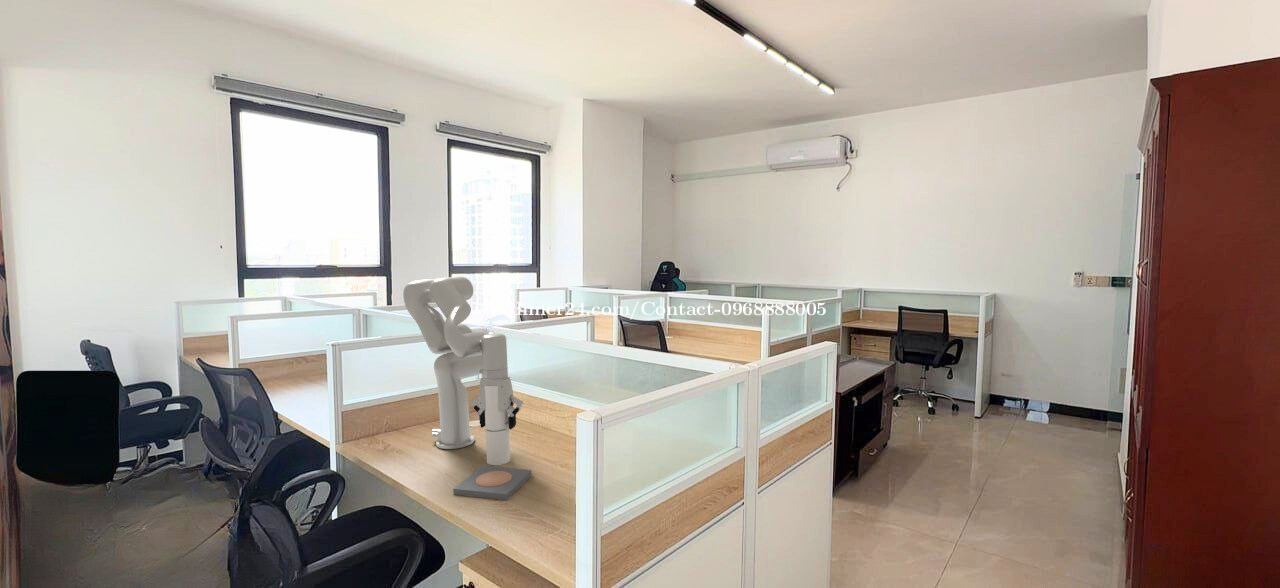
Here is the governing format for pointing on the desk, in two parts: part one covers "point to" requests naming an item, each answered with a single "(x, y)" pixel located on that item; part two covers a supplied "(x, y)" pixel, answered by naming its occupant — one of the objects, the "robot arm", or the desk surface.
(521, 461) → the desk surface
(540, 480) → the desk surface
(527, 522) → the desk surface
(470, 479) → the board
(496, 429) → the cylindrical container
